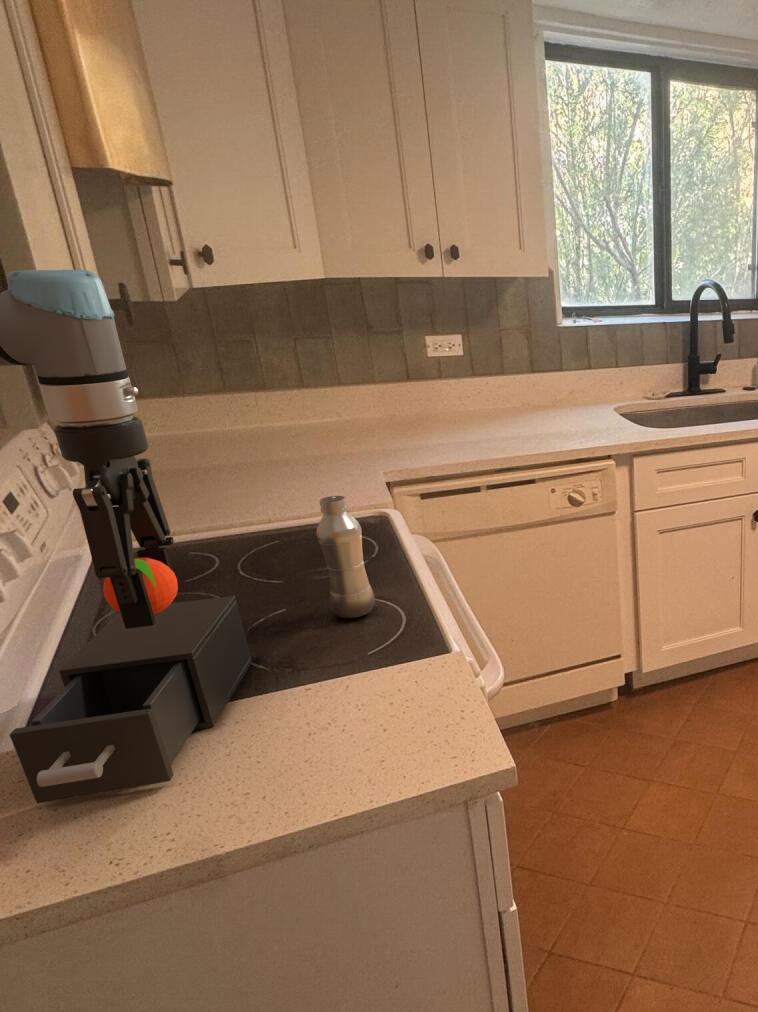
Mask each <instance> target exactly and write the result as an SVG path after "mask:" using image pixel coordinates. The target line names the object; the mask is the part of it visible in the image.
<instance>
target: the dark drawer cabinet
mask: <svg viewBox="0 0 758 1012" xmlns="http://www.w3.org/2000/svg"><path fill="white" fill-rule="evenodd" d="M154 617H155V621H156V623H155V625H153V626H145V627H137V628H128V629H126V628H125V625H124V622H123V618H122V615H121V613H120V612H117V614H115V616H114V617H113V618H112V619H111V620H110V621H108V623H107V624H105V625H104V627H102V628H101V630H99V631H98V632H97V633H96V634H95V635H94V636H93V637H92V638H91V639H90V640H89V641H88V642H87V643H86V644H85V645H84V646H83V647H82V648H81V649H79V651H78V652H76V653H75V654H74V656H72V657H71V658H70V659H69V660H68V661H67V662H66V663H65V664H64V665H63V666H61V668H60V669H59V670H58V673H59V676H60V678H61V681H62V683H63V686H64V687H63V688H65V687H66V686H67V685H68V684H69V683H70V682H71V681H72V680H73V679H74V678H75V677H76V676H77V675H78V674H81V673H89V672H96V671H104V670H111V669H119V668H126V667H134V666H141V665H149V664H156V663H163V662H171V661H178V660H186V659H187V663H188V666H189V670H190V673H191V676H192V680H193V683H194V687H195V690H196V693H197V697H198V700H199V704H200V707H201V710H202V714H203V715H202V717H201V719H200V720H199V722H198V723H197V725H196V727H195V728H194V730H193V731H197V730H204V729H210V728H214V727H215V725H216V724H217V722H218V720H219V719H220V716H221V715H222V713H223V712H224V710H225V708H226V707H227V705H228V703H229V701H230V700H231V698H232V696H233V694H234V693H235V691H236V689H238V686H239V685H240V683H241V681H242V680H243V678H244V676H245V675H246V674H247V671H248V669H249V668H250V666H251V664H252V663H253V659H252V656H251V651H250V647H249V644H248V640H247V636H246V633H245V629H244V625H243V621H242V617H241V613H240V609H239V606H238V603H237V599H236V595H232V596H231V595H230V596H224V597H223V596H222V597H212V598H205V599H197V600H196V599H195V600H188V601H179V602H172V603H171V604H170V605H169V606H168V607H167V608H166V609H164V610H163V611H161V612H159V613H157V614H154Z"/></svg>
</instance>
